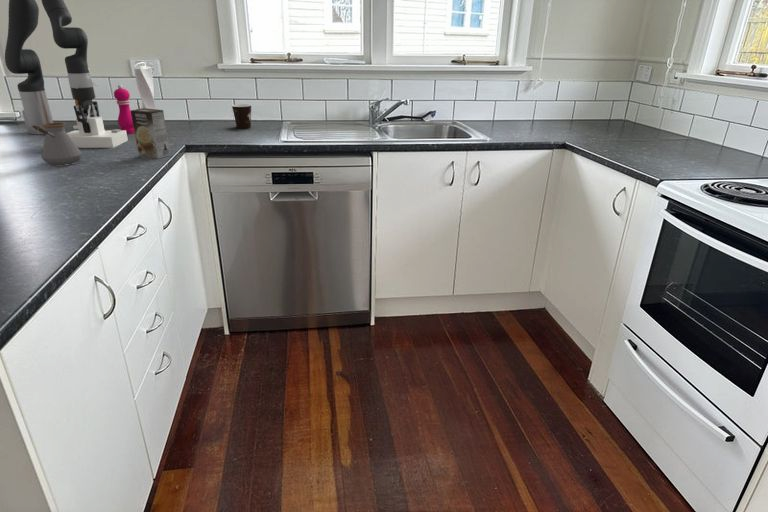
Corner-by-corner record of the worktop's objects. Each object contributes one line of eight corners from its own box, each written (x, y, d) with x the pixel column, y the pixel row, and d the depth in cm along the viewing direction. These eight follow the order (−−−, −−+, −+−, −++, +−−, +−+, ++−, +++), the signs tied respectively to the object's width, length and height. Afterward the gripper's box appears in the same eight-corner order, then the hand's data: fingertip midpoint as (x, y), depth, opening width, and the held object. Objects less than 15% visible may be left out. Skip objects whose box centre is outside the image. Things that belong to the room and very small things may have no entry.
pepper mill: (133, 134, 213) (124, 85, 205) (116, 134, 213) (106, 85, 205) (141, 131, 219) (132, 83, 211) (125, 131, 219) (115, 83, 211)
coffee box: (137, 156, 176) (128, 110, 169) (151, 153, 181) (142, 107, 175) (158, 159, 173) (150, 111, 166) (171, 155, 179) (163, 109, 172)
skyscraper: (145, 124, 237) (134, 62, 226) (163, 124, 238) (152, 62, 226) (139, 127, 229) (127, 63, 218) (157, 127, 230) (146, 63, 219)
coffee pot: (51, 160, 170) (39, 115, 163) (88, 158, 172) (77, 114, 166) (24, 176, 151) (10, 126, 144) (66, 174, 153) (54, 125, 147)
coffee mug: (245, 125, 237) (242, 103, 233) (257, 127, 232) (255, 105, 228) (225, 128, 228) (222, 106, 224) (237, 130, 224) (234, 108, 220)
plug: (73, 140, 190) (67, 118, 187) (79, 137, 195) (75, 116, 192) (99, 140, 191) (95, 119, 188) (106, 137, 196) (101, 116, 193)
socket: (58, 147, 187) (55, 134, 185) (76, 140, 200) (74, 128, 198) (113, 147, 188) (110, 134, 186) (128, 140, 201) (125, 128, 199)
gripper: (80, 84, 191) (90, 127, 198) (61, 87, 178) (72, 134, 185) (100, 84, 192) (109, 127, 199) (82, 87, 179) (93, 134, 186)
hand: (91, 130), depth 192 cm, fingers open, 6 cm apart
